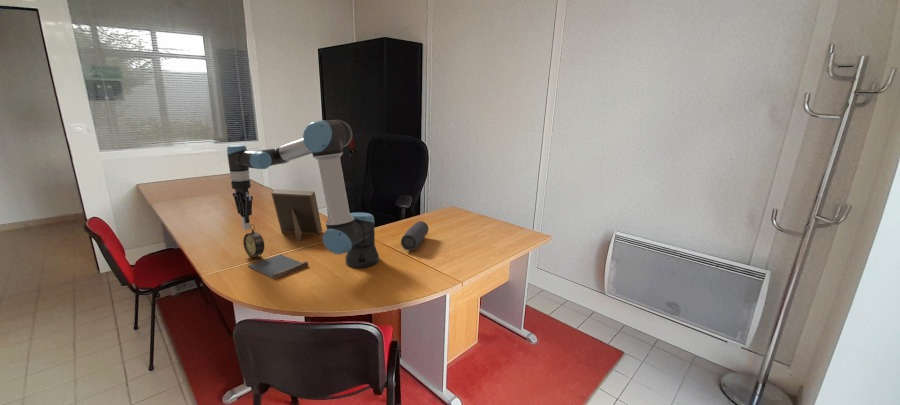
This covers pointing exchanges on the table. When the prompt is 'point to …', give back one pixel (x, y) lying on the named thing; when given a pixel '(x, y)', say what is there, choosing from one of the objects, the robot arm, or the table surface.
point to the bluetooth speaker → (414, 235)
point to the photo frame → (297, 212)
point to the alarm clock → (253, 243)
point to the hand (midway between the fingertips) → (246, 229)
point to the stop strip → (290, 270)
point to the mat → (273, 265)
